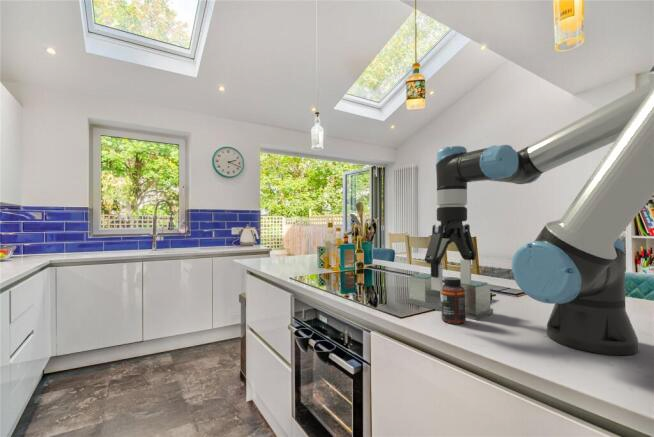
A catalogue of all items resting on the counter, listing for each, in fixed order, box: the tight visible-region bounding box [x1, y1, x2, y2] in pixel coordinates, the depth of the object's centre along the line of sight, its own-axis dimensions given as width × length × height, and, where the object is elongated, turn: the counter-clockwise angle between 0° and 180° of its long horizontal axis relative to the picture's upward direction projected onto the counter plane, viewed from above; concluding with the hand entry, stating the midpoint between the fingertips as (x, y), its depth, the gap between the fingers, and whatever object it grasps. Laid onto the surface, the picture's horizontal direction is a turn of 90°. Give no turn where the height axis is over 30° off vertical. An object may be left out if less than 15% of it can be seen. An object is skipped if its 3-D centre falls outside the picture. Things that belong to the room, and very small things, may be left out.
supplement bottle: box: [440, 276, 467, 325], centre depth 83 cm, size 6×6×11 cm
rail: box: [406, 273, 494, 321], centre depth 95 cm, size 23×9×9 cm, turn 37°
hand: (452, 286), depth 83 cm, fingers open, 13 cm apart
